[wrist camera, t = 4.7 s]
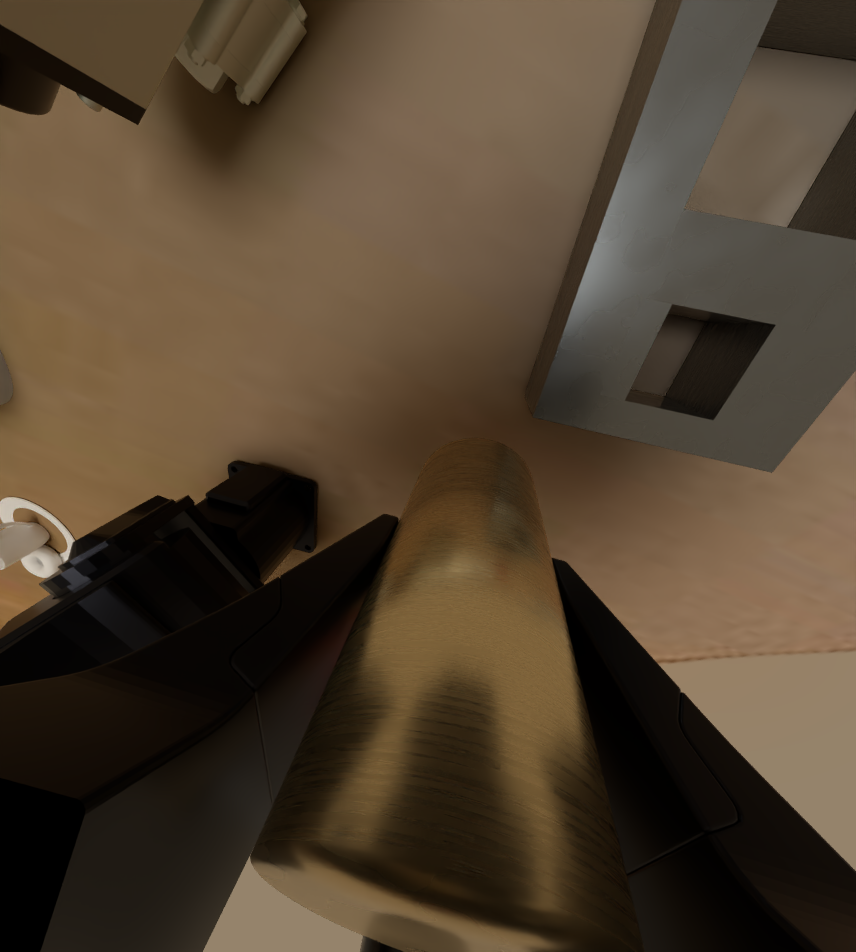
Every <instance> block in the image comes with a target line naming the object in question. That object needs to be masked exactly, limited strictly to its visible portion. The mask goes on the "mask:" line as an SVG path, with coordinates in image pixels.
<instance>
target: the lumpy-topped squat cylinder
mask: <svg viewBox="0 0 856 952" xmlns="http://www.w3.org/2000/svg"><path fill="white" fill-rule="evenodd" d="M12 394H13V384H12V379H11V376H10V373H9V370H8V367H7V364H6V362H5V359H4V357H3V355H2V353H1V351H0V405H2V404H5V403H7V402H8V401H9V400H10V399H11V397H12Z"/></svg>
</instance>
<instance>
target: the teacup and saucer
mask: <svg viewBox="0 0 856 952" xmlns="http://www.w3.org/2000/svg"><path fill="white" fill-rule="evenodd" d="M17 508H27V509H31V510H33V511H35V512H38V513H39V514H41V515H43V516H44V517H46V518H47V519H49V520H50V521H51V522H52V523H53V524H54V525H55V526H56V527H57V528H58V529H59V530H60V531H61V532H62V534H63V535H64V537H65V539H66V541H67V545H68V548H67V550H66V552H64V553H61V554H58V553H57V552H56V551H55V550H53V549H52V548H50V547H48V546H46V545H43V544H45V543H46V542H47V541H48V539H49V538H50V535H49V533H48V532H47V530H46V529H45V528H44V527H42V526H41V525H39V524H37V523H35V522H28V523H27V522H14V520H13V511H14V510H15V509H17ZM0 518H1V520H2V522H3V523H2V524H0V529H2V528H5V527H6V529H4V530H1V531H0V570H2V569H5V568H6V567H8V566H10V565H12V564H13V563H15V562H17V561H19V560H20V559H21V562H22V564H23V565H24V567H25V568H26V569H27V570H28V571H29V572H31V573H32V574H34V575H36V576H38V577H42V578H48V577H50V576H51V575H52V574H54V573H55V572H57V571H58V570H60V569H59V568H58V566H59V565H61V564H62V563H64V562H65V561H67V560H68V557H69V554H70V550H71V547H72V543H73V542H74V541H75V540H74V538H73V536H72V535H71V533H70V532H69V531H68V530H67V528H66V527H65V526H64V525H63V524H62V523H61V522H60V521H59V520H58V519H57V518H56V517H54V516H53V515H52V514H51V513H49V512H48V511H46V510H45V509H43V508H42V507H40V506H38V505H36V504H34V503H32V502H30V501H28V500H25V499H22V498H17V497H7V498H4V499H3V500H1V501H0Z"/></svg>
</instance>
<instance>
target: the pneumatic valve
mask: <svg viewBox="0 0 856 952" xmlns="http://www.w3.org/2000/svg"><path fill="white" fill-rule="evenodd" d="M307 17H308V15H307V13H306V12H305V10H304V8H303V6H302V5H301V3H300V1H299V0H0V105H2V106H5V107H8V108H10V109H13V110H16V111H19V112H23V113H27V114H33V115H44V114H46V113H48V112H49V111H50V110H51V108H52V105H53V103H54V100H55V98H56V95H57V93H58V90H59V87H60V85H63V86H65V87H67V88H69V89H71V90H73V91H75V92H76V93H77V95H78V97H79V98H80V99H81V100H82V101H83V102H84V103H85V104H86V105H87V106H89V107H90V108H91V109H93V110H95V111H97V112H100V111H101V109H102V107H105V108H107V109H109V110H111V111H113V112H114V113H116V114H118V115H120V116H122V117H124V118H126V119H128V120H130V121H131V122H133V123H135V124H137V125H138V124H139V123H140V121H141V119H142V117H143V115H144V113H145V111H146V109H147V107H148V105H149V103H150V102H151V100H152V98H153V96H154V94H155V92H156V90H157V88H158V86H159V84H160V82H161V81H162V79H163V77H164V75H165V73H166V71H167V69H168V67H169V65H170V63H171V62H172V60H173V58H174V56H175V57H176V58H177V59H178V60H179V61H180V63H181V64H182V65H183V66H184V67H185V68H186V69H187V71H188V72H189V73H190V74H191V75H192V76H193V77H194V78H195V79H196V80H197V81H198V82H199V83H200V84H201V85H202V86H203V87H205V88H206V89H207V90H208V91H210V92H212V93H217V92H218V91H220V90H221V88H222V87H223V85H224V83H225V82H226V80H227V79H228V77H230V78H231V79H232V80H233V81H235V82H236V83H237V85H236V87H235V90H236V92H237V94H236V96H237V98H238V100H239V101H240V102H241V103H242V104H247V105H249V104H250V103H251V101H255V102H256V103H257V104H259V102H260V101H261V99H262V98H263V96H264V95H265V93H266V92H267V90H268V89H269V88H270V86H271V85H272V83H273V82H274V80H275V79H276V77H277V76H278V74H279V73H280V71H281V70H282V68H283V67H284V65H285V64H286V62H287V61H288V59H289V58H290V56H291V55H292V53H293V52H294V50H295V49H296V47H297V46H298V45H299V43H300V42H301V40H302V39H303V37H304V36H305V34H306V33H307V31H306V29H305V27H304V25H305V23H304V21H305V20H306V18H307Z"/></svg>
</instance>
